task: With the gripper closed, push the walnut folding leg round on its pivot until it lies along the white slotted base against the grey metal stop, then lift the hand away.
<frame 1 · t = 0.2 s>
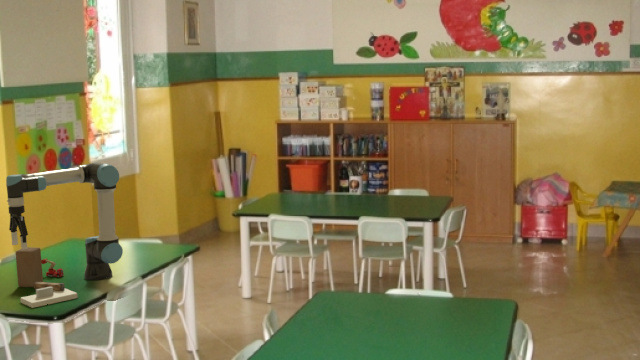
hand: (19, 246, 436), 27 cm above the table, tool pointing down, fingers open, 13 cm apart
white slotted base: (49, 300, 437), on the table
folding leg: (49, 286, 447), point 4 cm above the table, hinge at -60.0°
toy fire truck: (52, 276, 487), on the table
block: (30, 285, 468), on the table
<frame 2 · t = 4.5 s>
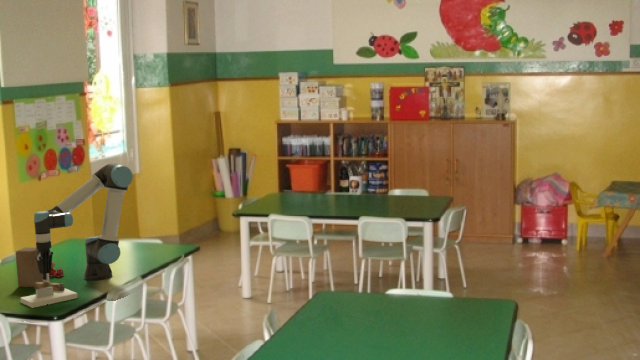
hand: (46, 285, 451), 4 cm above the table, tool pointing down, fingers closed
folding leg: (49, 286, 447), point 4 cm above the table, hinge at -60.0°, touching gripper
everything else where it was.
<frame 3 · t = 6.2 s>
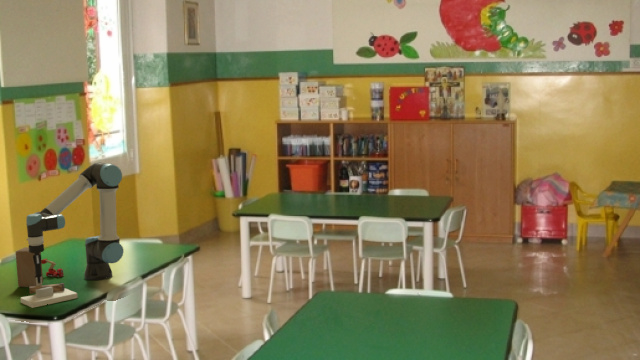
hand: (39, 288, 444), 4 cm above the table, tool pointing down, fingers closed
folding leg: (47, 288, 443), point 4 cm above the table, hinge at -25.9°, touching gripper
everything else where it was.
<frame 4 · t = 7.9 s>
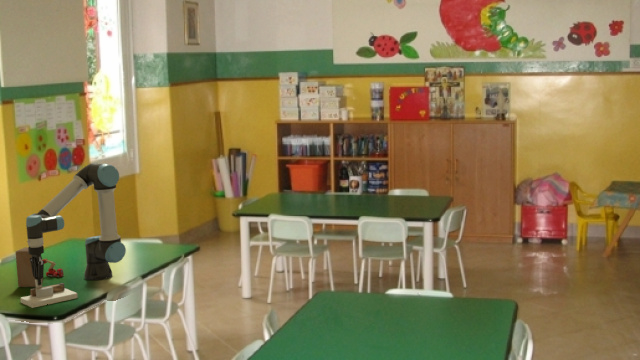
hand: (39, 290, 440), 4 cm above the table, tool pointing down, fingers closed
folding leg: (48, 289, 441), point 4 cm above the table, hinge at -4.0°, touching gripper
everything else where it was.
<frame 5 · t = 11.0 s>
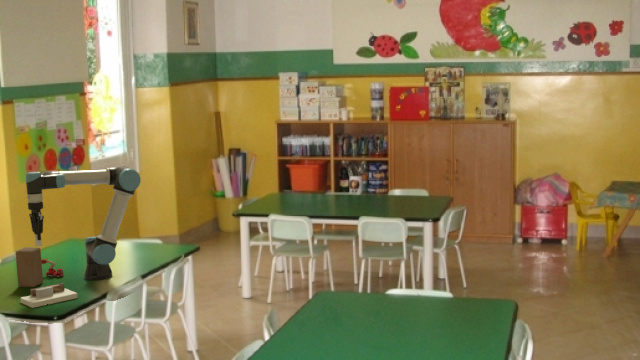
hand: (38, 245, 452), 24 cm above the table, tool pointing down, fingers closed
folding leg: (48, 289, 441), point 4 cm above the table, hinge at -3.9°
everything else where it was.
at the end: folding leg at -4° (first picture: -60°); block moved 0.2 cm from its start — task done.
